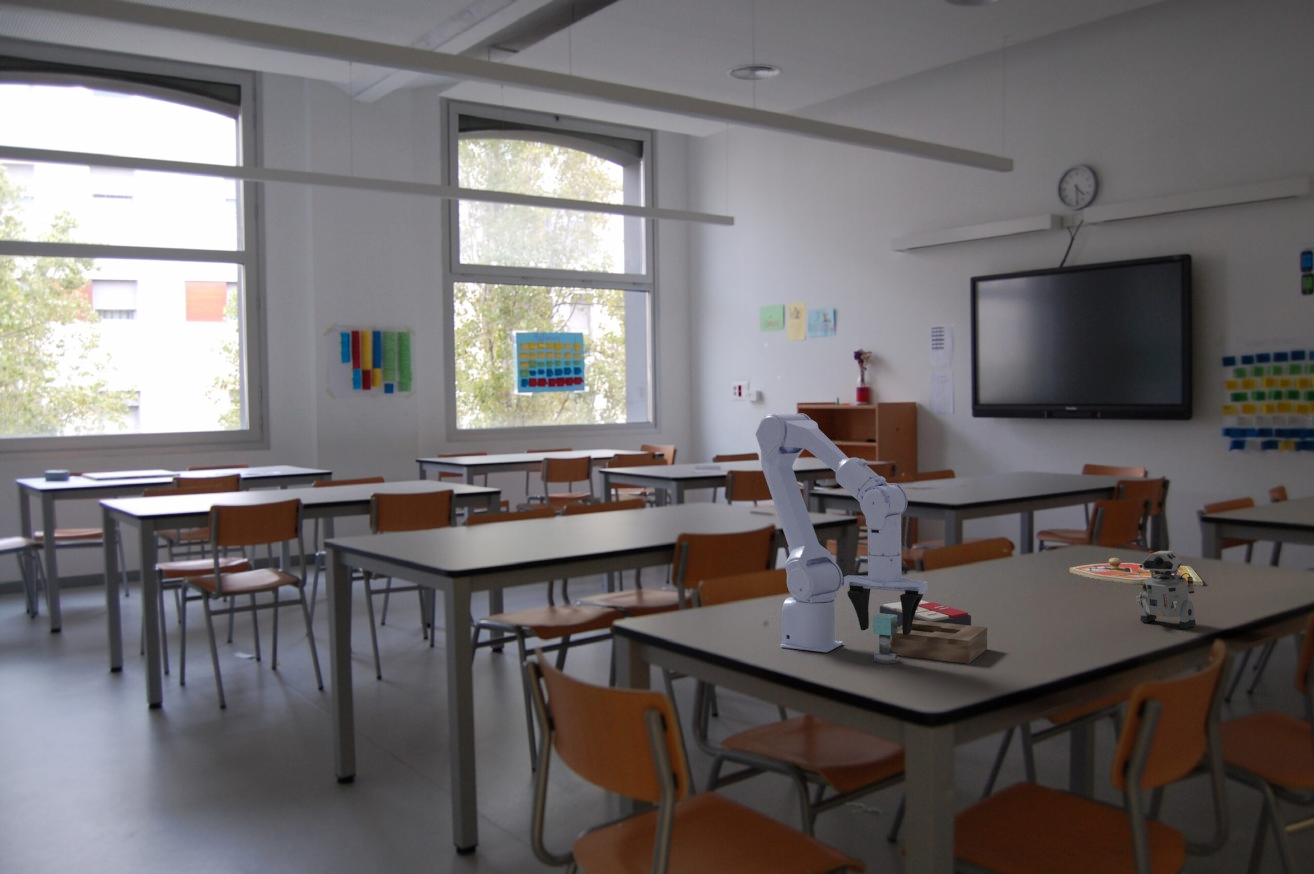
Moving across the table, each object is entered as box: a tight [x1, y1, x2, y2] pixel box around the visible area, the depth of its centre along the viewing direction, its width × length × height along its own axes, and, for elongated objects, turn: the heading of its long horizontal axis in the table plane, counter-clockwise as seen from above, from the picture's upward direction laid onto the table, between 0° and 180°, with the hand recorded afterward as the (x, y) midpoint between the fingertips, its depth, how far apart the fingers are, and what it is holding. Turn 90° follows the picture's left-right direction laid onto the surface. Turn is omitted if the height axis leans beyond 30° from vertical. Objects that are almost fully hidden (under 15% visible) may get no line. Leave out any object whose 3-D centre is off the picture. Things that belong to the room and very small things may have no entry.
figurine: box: [1135, 549, 1197, 630], centre depth 201 cm, size 9×12×15 cm
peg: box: [872, 612, 898, 665], centre depth 178 cm, size 4×4×8 cm
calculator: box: [879, 599, 972, 627], centre depth 207 cm, size 11×4×15 cm
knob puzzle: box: [1069, 557, 1204, 587], centre depth 261 cm, size 29×30×4 cm
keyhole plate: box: [892, 620, 988, 665], centre depth 184 cm, size 14×12×4 cm
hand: (885, 631), depth 178 cm, fingers open, 7 cm apart
